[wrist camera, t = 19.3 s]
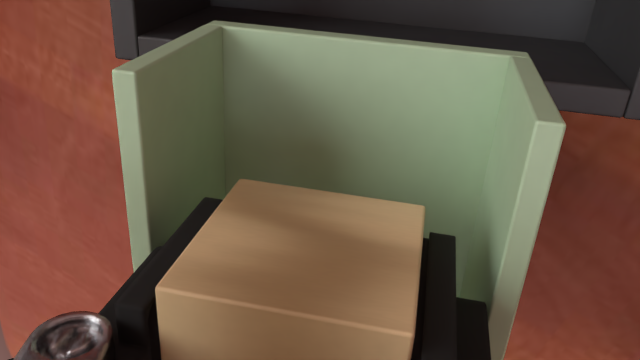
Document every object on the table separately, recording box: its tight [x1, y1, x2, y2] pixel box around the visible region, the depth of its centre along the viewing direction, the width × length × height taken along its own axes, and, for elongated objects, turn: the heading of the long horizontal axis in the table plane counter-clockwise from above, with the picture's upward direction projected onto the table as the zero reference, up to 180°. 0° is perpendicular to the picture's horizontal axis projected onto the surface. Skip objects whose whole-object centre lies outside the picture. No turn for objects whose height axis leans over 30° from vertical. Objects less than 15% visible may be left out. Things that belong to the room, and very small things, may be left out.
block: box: [155, 179, 426, 360], centre depth 11 cm, size 4×4×4 cm
